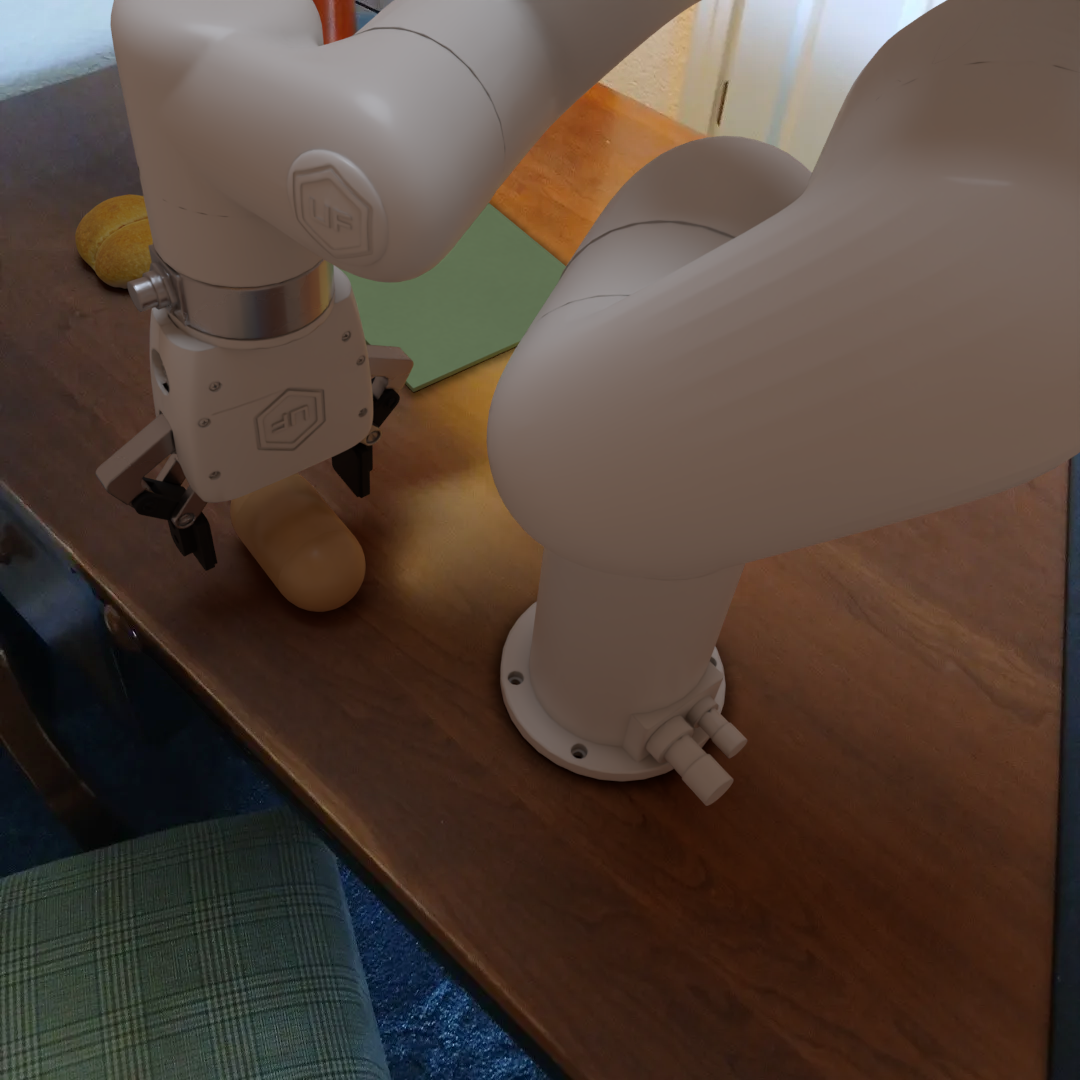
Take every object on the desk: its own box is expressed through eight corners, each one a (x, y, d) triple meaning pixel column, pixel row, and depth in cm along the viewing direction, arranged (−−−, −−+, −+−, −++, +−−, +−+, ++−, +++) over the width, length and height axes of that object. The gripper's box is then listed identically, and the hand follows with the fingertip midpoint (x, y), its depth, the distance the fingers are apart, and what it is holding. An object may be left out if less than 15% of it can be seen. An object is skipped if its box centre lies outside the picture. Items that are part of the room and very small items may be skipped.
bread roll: (121, 308, 76) (107, 262, 73) (66, 247, 80) (51, 201, 77) (222, 269, 80) (214, 223, 77) (165, 213, 84) (155, 167, 81)
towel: (608, 305, 81) (609, 301, 81) (413, 392, 73) (413, 388, 73) (445, 171, 91) (445, 166, 91) (258, 234, 83) (258, 230, 83)
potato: (384, 602, 61) (381, 546, 57) (306, 644, 59) (297, 589, 55) (296, 495, 66) (288, 436, 62) (221, 530, 64) (207, 472, 60)
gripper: (93, 389, 41) (164, 631, 54) (456, 256, 49) (440, 496, 62) (18, 283, 44) (102, 536, 57) (369, 175, 52) (371, 419, 65)
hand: (277, 515), depth 60 cm, fingers open, 9 cm apart
